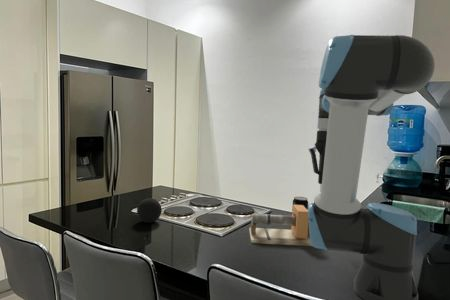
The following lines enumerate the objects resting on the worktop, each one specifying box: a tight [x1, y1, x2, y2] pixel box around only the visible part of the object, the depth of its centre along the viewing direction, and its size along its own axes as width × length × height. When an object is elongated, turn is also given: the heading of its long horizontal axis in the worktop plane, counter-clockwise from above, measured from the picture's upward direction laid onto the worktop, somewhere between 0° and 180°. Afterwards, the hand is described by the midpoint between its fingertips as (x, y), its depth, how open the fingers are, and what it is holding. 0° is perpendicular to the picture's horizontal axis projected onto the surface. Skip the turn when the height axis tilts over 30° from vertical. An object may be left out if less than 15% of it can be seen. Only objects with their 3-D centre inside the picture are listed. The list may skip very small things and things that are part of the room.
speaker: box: [136, 197, 163, 224], centre depth 137 cm, size 10×10×10 cm
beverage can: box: [291, 196, 309, 210], centre depth 144 cm, size 7×7×12 cm
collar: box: [290, 204, 309, 239], centre depth 126 cm, size 4×10×10 cm, turn 179°
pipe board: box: [248, 213, 313, 247], centre depth 126 cm, size 23×14×9 cm, turn 89°
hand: (322, 192), depth 125 cm, fingers closed
